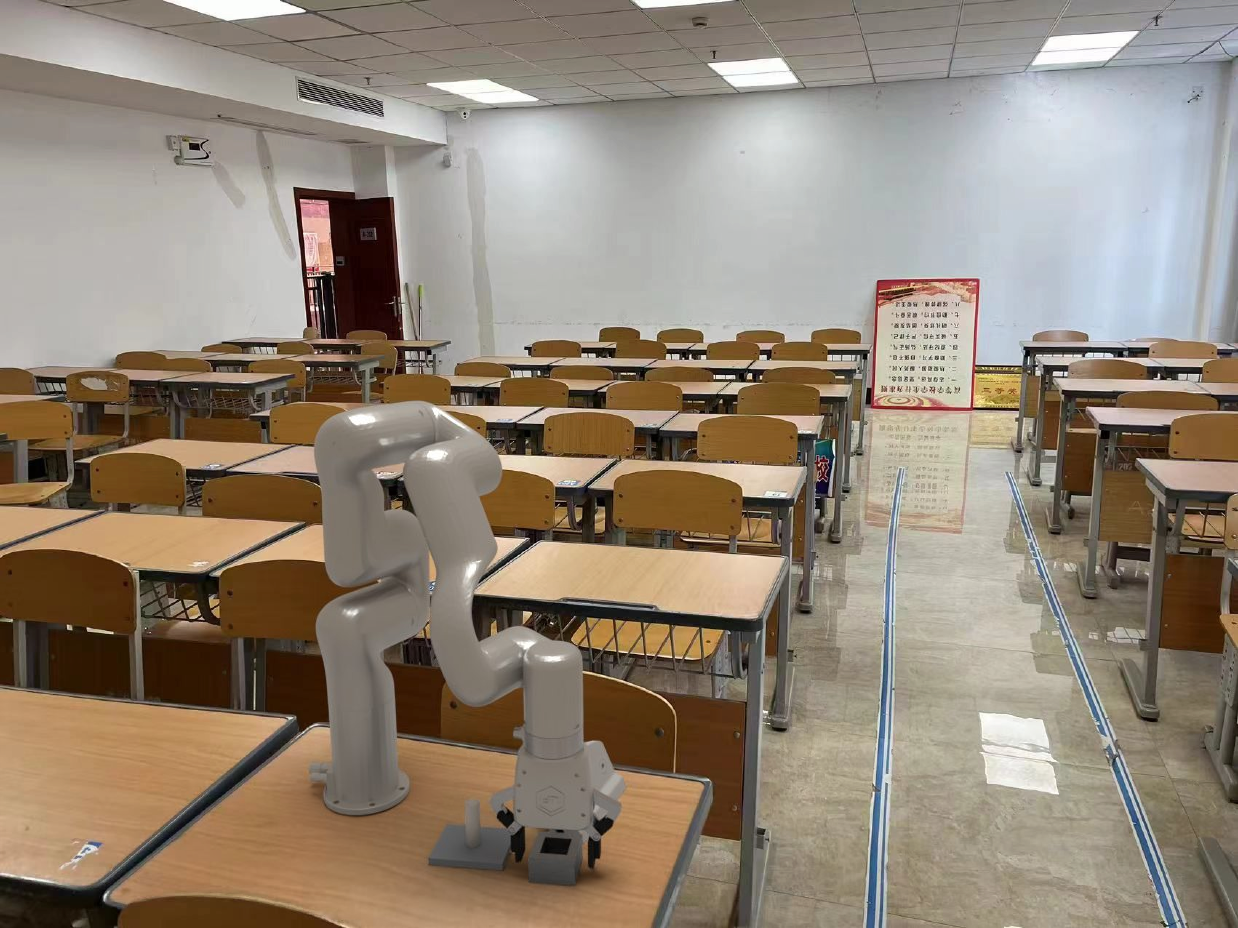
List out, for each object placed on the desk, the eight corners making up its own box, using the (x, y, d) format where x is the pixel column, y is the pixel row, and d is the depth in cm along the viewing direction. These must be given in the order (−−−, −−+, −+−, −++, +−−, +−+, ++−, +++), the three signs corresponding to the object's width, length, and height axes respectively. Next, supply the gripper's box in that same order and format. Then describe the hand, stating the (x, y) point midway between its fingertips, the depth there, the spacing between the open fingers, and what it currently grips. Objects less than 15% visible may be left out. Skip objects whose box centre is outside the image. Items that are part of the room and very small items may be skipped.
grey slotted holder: (582, 846, 128) (559, 778, 127) (553, 849, 130) (530, 782, 129) (627, 786, 143) (607, 725, 143) (601, 790, 145) (580, 730, 145)
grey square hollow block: (528, 882, 120) (528, 857, 119) (538, 854, 126) (538, 831, 125) (574, 885, 119) (574, 861, 119) (582, 858, 125) (582, 834, 125)
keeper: (428, 864, 124) (426, 816, 122) (447, 830, 132) (445, 785, 130) (502, 870, 123) (501, 822, 121) (516, 835, 130) (515, 789, 129)
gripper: (480, 748, 117) (484, 872, 120) (617, 757, 114) (617, 882, 118) (495, 721, 124) (498, 838, 127) (624, 728, 122) (625, 847, 125)
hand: (556, 859), depth 122 cm, fingers open, 9 cm apart
